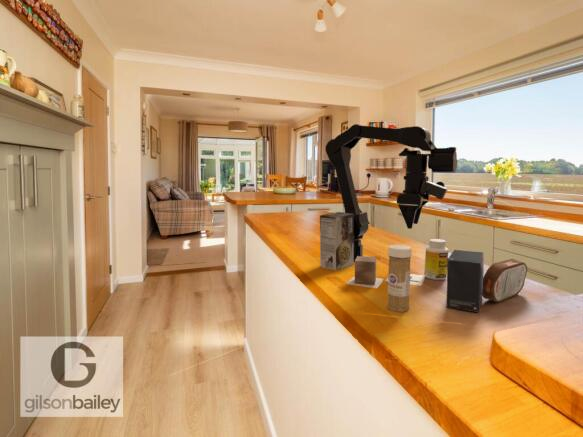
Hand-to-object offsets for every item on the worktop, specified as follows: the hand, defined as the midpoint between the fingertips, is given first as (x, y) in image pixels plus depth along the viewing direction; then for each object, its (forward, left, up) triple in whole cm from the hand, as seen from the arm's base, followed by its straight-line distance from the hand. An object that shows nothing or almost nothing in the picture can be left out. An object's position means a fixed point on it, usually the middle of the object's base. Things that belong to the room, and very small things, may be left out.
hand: (412, 226), depth 100 cm
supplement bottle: (+7, -7, -13) cm, 16 cm away
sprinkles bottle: (+2, -33, -13) cm, 35 cm away
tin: (+22, -17, -13) cm, 31 cm away
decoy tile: (-9, -19, -13) cm, 24 cm away
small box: (+15, -23, -13) cm, 30 cm away
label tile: (0, -12, -13) cm, 17 cm away
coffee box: (-21, -8, -13) cm, 25 cm away
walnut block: (-9, -19, -12) cm, 24 cm away
